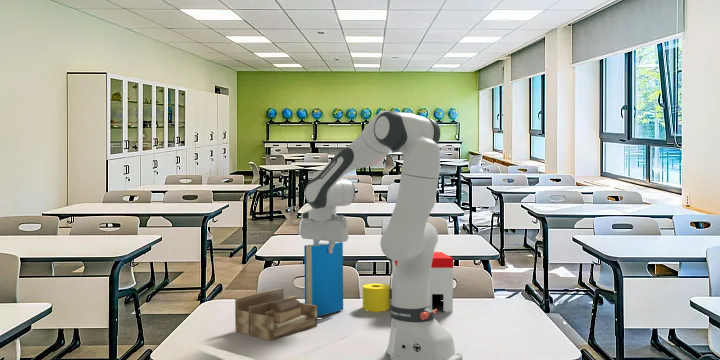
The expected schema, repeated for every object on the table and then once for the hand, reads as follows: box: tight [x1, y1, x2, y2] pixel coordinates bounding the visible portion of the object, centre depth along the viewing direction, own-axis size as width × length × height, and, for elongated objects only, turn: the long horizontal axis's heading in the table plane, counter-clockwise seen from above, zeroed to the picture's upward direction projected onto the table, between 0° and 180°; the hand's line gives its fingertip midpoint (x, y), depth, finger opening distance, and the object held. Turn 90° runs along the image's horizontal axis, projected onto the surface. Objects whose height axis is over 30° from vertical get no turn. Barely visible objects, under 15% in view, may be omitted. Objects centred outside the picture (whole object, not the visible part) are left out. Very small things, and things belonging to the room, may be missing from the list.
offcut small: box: [271, 299, 300, 313], centre depth 195 cm, size 5×8×2 cm, turn 139°
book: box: [303, 242, 344, 317], centre depth 213 cm, size 17×4×25 cm, turn 142°
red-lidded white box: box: [391, 251, 454, 313], centre depth 233 cm, size 21×35×21 cm, turn 179°
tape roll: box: [362, 283, 391, 313], centre depth 221 cm, size 10×10×9 cm
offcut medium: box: [265, 307, 301, 324], centre depth 194 cm, size 6×11×3 cm, turn 149°
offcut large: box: [274, 315, 306, 329], centre depth 195 cm, size 7×14×3 cm, turn 145°
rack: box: [234, 287, 318, 341], centre depth 197 cm, size 17×21×11 cm
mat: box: [317, 318, 333, 325], centre depth 213 cm, size 10×20×1 cm, turn 142°
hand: (324, 252), depth 213 cm, fingers closed on book, 4 cm apart
